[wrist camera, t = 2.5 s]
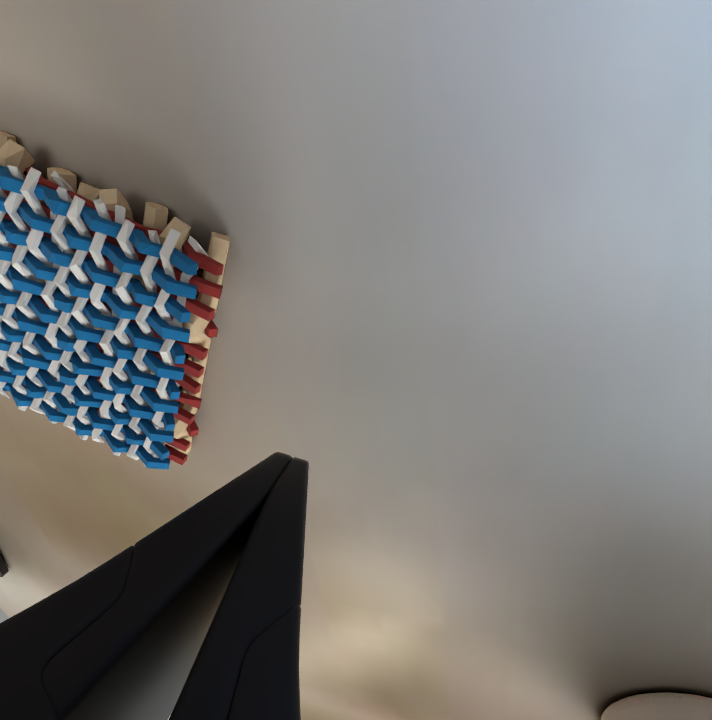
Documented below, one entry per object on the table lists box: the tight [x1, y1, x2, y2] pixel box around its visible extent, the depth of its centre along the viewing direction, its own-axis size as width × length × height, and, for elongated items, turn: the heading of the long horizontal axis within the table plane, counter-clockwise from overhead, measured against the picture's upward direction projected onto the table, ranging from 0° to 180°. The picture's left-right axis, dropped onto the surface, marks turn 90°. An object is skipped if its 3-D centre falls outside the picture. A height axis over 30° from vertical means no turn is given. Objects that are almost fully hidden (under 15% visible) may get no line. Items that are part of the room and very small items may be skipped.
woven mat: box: [0, 131, 230, 469], centre depth 12 cm, size 10×11×2 cm
